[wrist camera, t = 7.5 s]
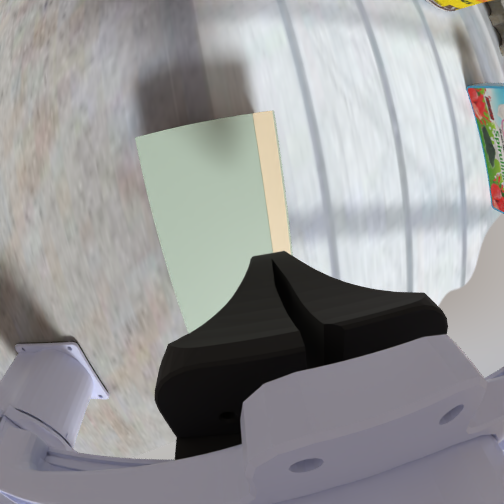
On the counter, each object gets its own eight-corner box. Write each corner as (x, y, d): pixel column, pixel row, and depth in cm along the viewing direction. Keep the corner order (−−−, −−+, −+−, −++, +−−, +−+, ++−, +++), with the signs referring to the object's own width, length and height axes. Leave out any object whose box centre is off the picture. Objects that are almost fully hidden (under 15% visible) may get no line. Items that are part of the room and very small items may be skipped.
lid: (189, 328, 19) (188, 334, 19) (138, 137, 14) (134, 137, 14) (296, 309, 20) (298, 315, 19) (272, 111, 14) (274, 110, 14)
